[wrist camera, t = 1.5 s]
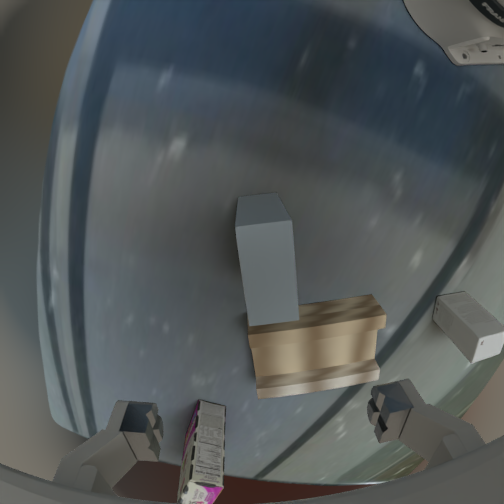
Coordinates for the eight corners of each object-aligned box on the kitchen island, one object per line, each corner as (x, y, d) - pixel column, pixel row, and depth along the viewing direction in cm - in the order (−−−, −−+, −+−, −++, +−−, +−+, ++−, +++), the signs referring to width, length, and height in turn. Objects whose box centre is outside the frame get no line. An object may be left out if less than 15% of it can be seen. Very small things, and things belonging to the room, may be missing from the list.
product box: (276, 192, 37) (291, 220, 25) (283, 264, 40) (299, 320, 28) (236, 197, 37) (232, 227, 25) (246, 268, 40) (247, 326, 28)
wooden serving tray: (371, 294, 42) (386, 314, 37) (366, 358, 46) (378, 381, 40) (247, 311, 42) (247, 335, 37) (257, 374, 46) (258, 400, 41)
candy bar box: (211, 441, 52) (205, 515, 36) (185, 434, 51) (173, 509, 36) (228, 404, 48) (225, 489, 33) (198, 397, 48) (186, 482, 32)
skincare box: (431, 319, 44) (469, 364, 33) (436, 295, 42) (479, 338, 31) (460, 313, 44) (500, 354, 33) (465, 290, 42) (509, 328, 31)
